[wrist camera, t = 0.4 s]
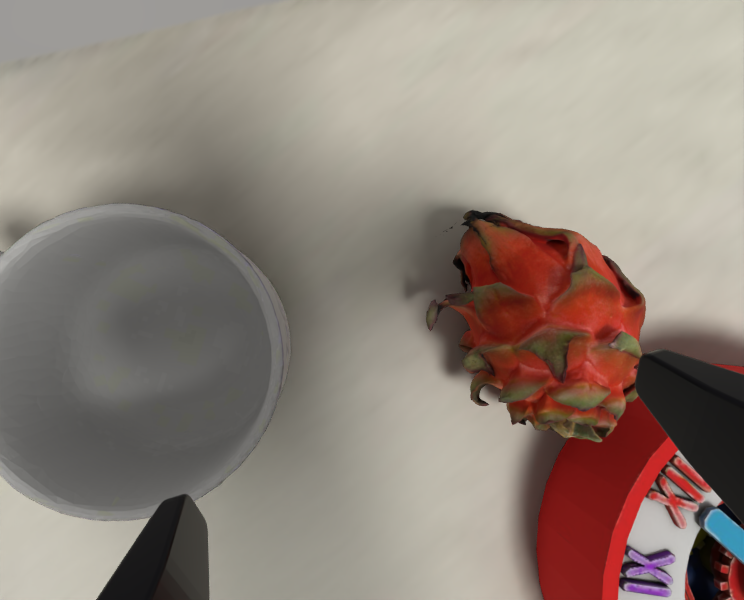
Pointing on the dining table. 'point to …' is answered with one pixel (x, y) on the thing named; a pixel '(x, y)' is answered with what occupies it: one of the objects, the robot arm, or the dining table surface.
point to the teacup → (132, 360)
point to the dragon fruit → (546, 325)
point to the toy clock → (636, 521)
